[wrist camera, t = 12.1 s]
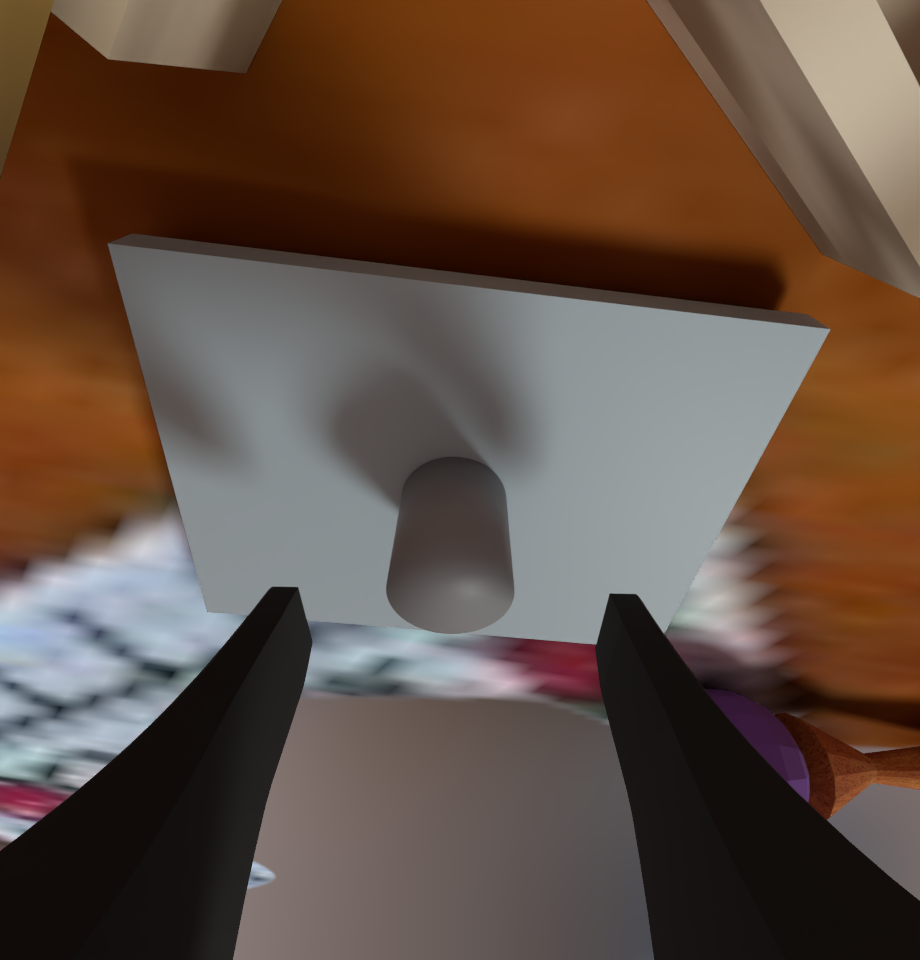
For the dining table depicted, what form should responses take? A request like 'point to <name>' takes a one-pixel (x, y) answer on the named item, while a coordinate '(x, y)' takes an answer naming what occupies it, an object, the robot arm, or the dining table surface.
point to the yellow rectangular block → (18, 59)
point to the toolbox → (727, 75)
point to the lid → (448, 434)
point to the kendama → (816, 755)
